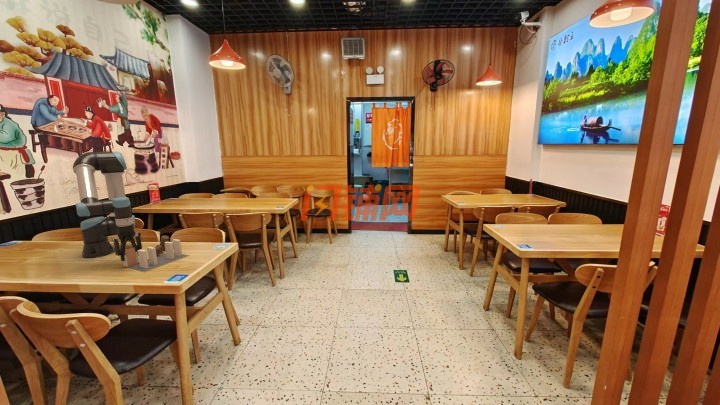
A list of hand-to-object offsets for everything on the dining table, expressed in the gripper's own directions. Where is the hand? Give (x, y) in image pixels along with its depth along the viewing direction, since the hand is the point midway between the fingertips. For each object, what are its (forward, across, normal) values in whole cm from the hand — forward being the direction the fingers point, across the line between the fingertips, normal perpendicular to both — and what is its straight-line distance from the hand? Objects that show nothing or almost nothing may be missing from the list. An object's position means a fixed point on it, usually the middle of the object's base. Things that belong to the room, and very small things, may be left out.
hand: (131, 263), depth 166 cm
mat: (+1, +10, -8) cm, 13 cm away
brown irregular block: (+2, +22, +5) cm, 22 cm away
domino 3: (+1, +6, -10) cm, 12 cm away
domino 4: (+1, +16, -10) cm, 19 cm away
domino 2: (+1, +1, -10) cm, 10 cm away
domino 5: (+1, +21, -10) cm, 23 cm away
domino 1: (+1, 0, 0) cm, 1 cm away
